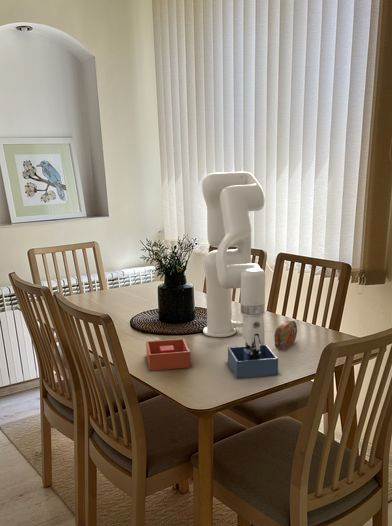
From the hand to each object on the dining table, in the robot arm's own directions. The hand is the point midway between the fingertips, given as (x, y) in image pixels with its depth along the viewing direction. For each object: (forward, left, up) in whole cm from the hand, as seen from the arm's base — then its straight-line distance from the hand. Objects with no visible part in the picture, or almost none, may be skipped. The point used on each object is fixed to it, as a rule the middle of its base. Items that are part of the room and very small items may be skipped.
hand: (252, 362), depth 176 cm
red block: (+26, -12, -2) cm, 29 cm away
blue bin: (0, 0, -2) cm, 2 cm away
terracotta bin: (+26, -12, -2) cm, 29 cm away
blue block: (0, 0, 0) cm, 0 cm away
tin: (-17, -18, -2) cm, 25 cm away
